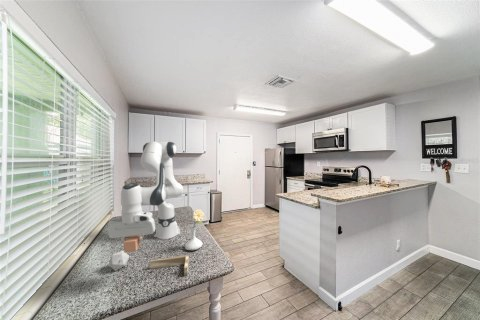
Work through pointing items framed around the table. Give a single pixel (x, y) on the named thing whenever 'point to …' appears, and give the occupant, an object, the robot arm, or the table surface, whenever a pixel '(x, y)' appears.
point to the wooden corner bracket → (171, 262)
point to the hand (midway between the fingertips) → (133, 243)
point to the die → (118, 260)
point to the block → (131, 243)
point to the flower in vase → (194, 242)
